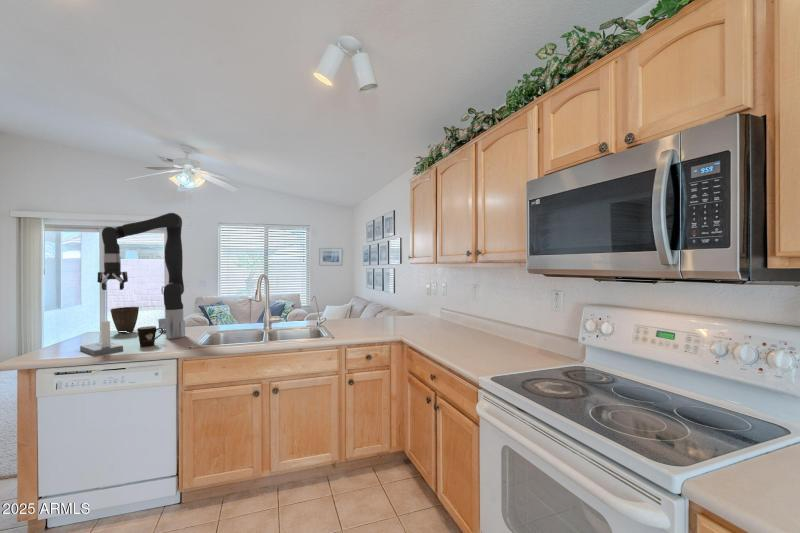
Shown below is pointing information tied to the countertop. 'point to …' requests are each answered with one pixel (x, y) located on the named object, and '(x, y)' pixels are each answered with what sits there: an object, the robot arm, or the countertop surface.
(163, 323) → the medicine box
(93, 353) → the grey base plate
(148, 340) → the coffee mug
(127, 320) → the plant pot
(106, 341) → the switch handle
